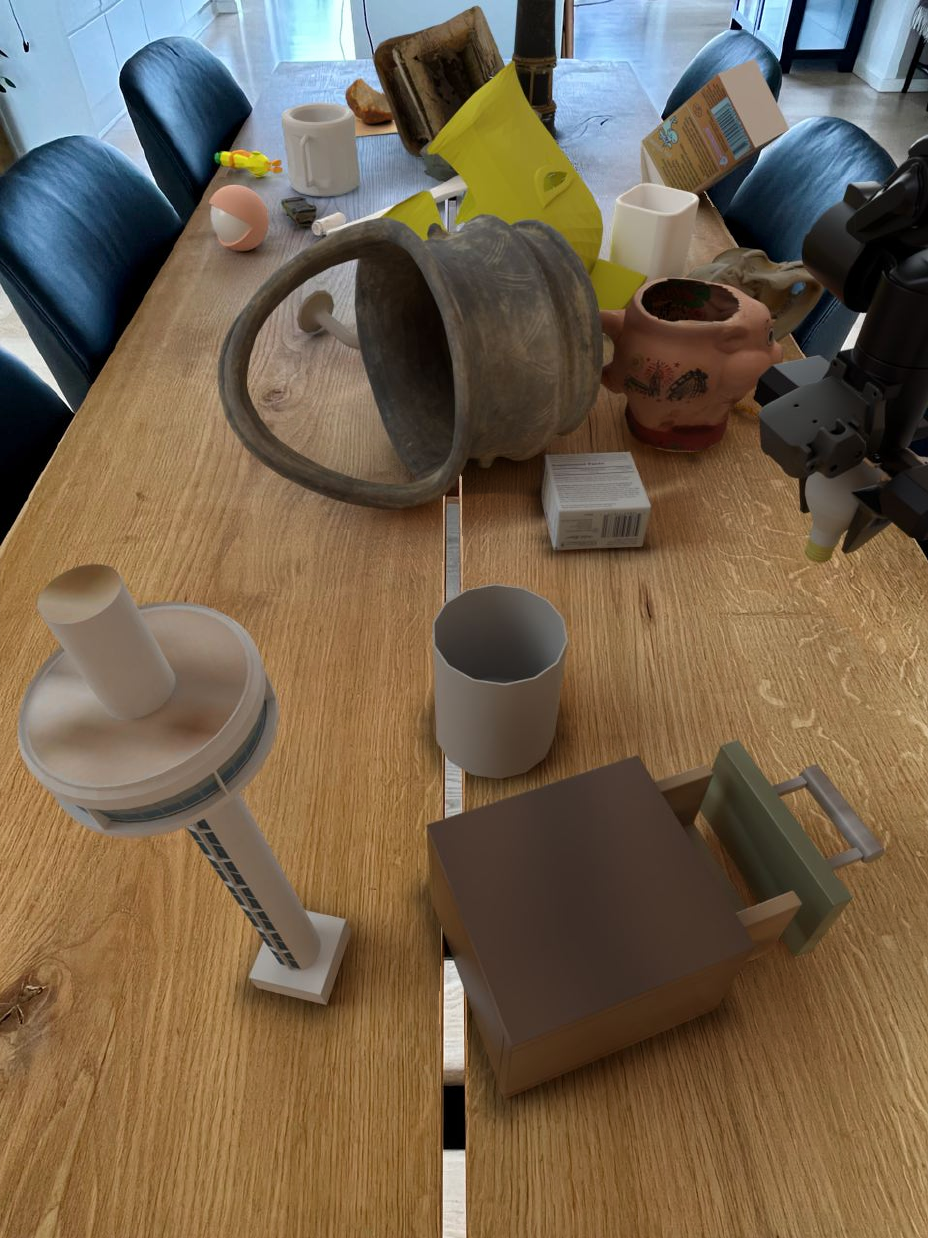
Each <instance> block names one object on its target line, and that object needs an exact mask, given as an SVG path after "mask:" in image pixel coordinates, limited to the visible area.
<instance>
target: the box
mask: <svg viewBox="0 0 928 1238" xmlns="http://www.w3.org/2000/svg"><path fill="white" fill-rule="evenodd" d="M542 466H543V467H542V480H541V481H542V482H541V490H540V491H541V492H540V498H541V502H542V507H543V511H544V517H545V521H546V525H547V529H548V534H549V537H550V541H551V545H552V549H553V550H554V551H567V550H568V551H570V550H571V551H573V550H590V549H591V550H593V549H613V548H641V547H643V545H644V540H645V537H646V532H647V529H648V524H649V519H650V514H651V510H652V508H653V507H652V504H651V501H650V499H649V496H648V493H647V491H646V488H645V486H644V483H643V481H642V479H641V476H640V473H639V471H638V468H637V465H636V463H635V460H634V457H633V455H632V452H631V451H616V452H612V451H611V452H587V453H586V452H585V453H584V452H583V453H559V454H558V453H557V454H553V453H552V454H544V455H543V465H542Z"/></svg>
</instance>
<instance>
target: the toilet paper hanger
mask: <svg viewBox="0 0 928 1238" xmlns="http://www.w3.org/2000/svg"><path fill="white" fill-rule="evenodd" d="M334 307H335V301H334V298H333V294H331V293H330V292H329V291H327V290H326V289H322V290H315V291H314V292H312V293H310V294H309V295H308V296H306V297H305V299H304V300H303V302H302V303H301V305H299V308H298V312H297V317H296V322H297V325H298V328H299V330H301V331H303V332H304V333H305V334H309V333H317V332H318V331H319V330H321V329H322V328H323V329H325V331H327V332H328V333H329V334H330V335H332V336H333V337H334V338H335V339H336V340H338V341H339V342H340V343H342V344H343V345H344V346H346V347H348V348H351V349H353V350H358V351H361V350H360V345H359V340H358V335H357V332H353V331H351V330H350V329H349V328H347V326H345V325H344V324H343V323H342V322H340V321H339V320H338V319H337V318H335V317H334V316H333V311H334Z"/></svg>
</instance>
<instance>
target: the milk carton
mask: <svg viewBox="0 0 928 1238" xmlns="http://www.w3.org/2000/svg"><path fill="white" fill-rule="evenodd" d="M789 130H790V127H789V125H788V123H787V121H786V118H785V116H784V115H783V112H782V111H781V109H780V107H779V105H778V103H777V101H776V99H775V97H774V95H773V93H772V91H771V89H770V86H769V84H768V82H767V80H766V79H765V77H764V74H763V72H762V71H761V68H760V67H759V65H758V63H757V61H756V58H752V59H750V60H748V61H745V62H742V63H740V64H738V65H735V66H733V67H730V68H727V69H726V70H724V71H721V72H719V73H717V74H716V75H715V76H714V77H712V78H711V79H710V80H709V81H708V82H707V83H706V84H705V85H703V86H702V87H701V88H700V89H699V90H698V91H696V93H694V94H693V95H692V96H690V98H688V99H687V100H686V101H685V102H684V103H683V104H682V105H681V106H679V107H678V108H677V109H675V111H673V113H672V114H670V115H669V116H668V117H667V118H666V119H664V121H662V122H661V123H660V124H659V125H658V126H657V127H656V128H654V129H653V130H652V131H651V132H650V133H649V134H648V135H646V136H645V137H644V138H643V139H642V140H641V142H640V149H639V173H640V184H644V183H652V184H657V185H662V186H666V187H670V188H674V189H678V190H682V191H686V192H690V193H693V194H695V195H696V196H700V195H701V194H702V193H704V192H706V191H708V190H710V189H711V188H713V187H714V186H716V185H717V184H719V182H721V181H722V180H724V179H725V178H726V177H728V176H729V175H730V174H731V173H733V172H734V171H735V170H737V169H738V168H740V167H741V166H742V165H744V164H745V163H747V162H748V161H749V160H750V159H752V158H753V157H754V156H756V155H757V154H758V153H760V152H761V151H763V150H764V149H765V148H766V147H768V146H769V145H770V144H772V143H773V142H775V141H776V140H777V139H779V138H780V137H782V136H783V135H784V134H786V132H788V131H789Z"/></svg>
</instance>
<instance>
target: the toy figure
mask: <svg viewBox="0 0 928 1238" xmlns="http://www.w3.org/2000/svg"><path fill="white" fill-rule="evenodd" d="M214 161H215V163H216V164H218V165H220V166H221V167H225V168H231V169H233V170H242V169H246V170H248V171H249V173H251V174H252V175H253V177H254V178H257V179H258V178H263V177H264V176H265V175H267V174H268V173H269V172H272V173H274V174H281V173H283V167H280V166H281V165H282V160H281V159H277V158H275V159H273V160H272V161H270V160H269V158H268V157H267V156H266V155H264V154H263V151H257V150H253V151H251V152H250V151H248V150H244V149H235V150H232V151H225V150H222V151H220V152H216V153H214Z"/></svg>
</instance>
